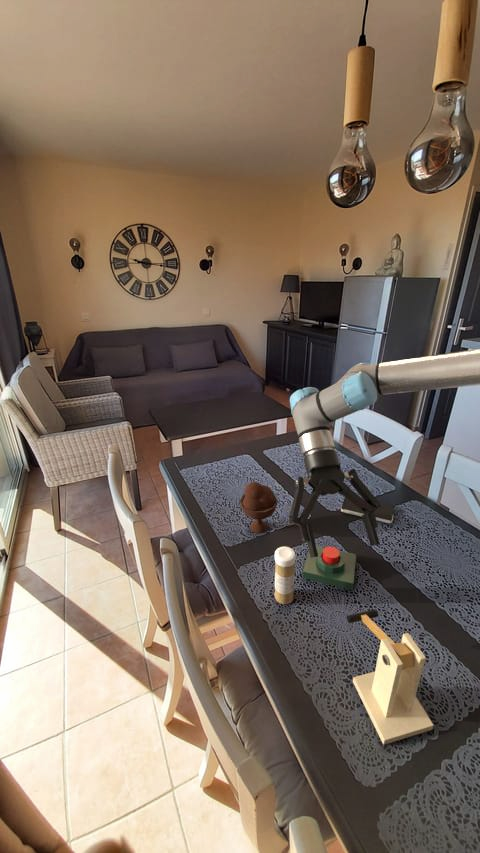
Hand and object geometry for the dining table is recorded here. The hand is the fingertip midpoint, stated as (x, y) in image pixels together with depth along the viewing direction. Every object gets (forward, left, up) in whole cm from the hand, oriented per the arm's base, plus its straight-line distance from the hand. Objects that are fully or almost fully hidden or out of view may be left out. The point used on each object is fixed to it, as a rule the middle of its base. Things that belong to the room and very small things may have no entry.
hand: (345, 551), depth 74 cm
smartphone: (-5, -39, -17) cm, 43 cm away
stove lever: (-8, +13, -7) cm, 17 cm away
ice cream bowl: (+25, -21, -17) cm, 37 cm away
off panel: (+3, -11, -17) cm, 21 cm away
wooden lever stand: (-11, +17, -17) cm, 26 cm away
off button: (+3, -11, -13) cm, 18 cm away
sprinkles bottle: (+12, +1, -17) cm, 21 cm away
